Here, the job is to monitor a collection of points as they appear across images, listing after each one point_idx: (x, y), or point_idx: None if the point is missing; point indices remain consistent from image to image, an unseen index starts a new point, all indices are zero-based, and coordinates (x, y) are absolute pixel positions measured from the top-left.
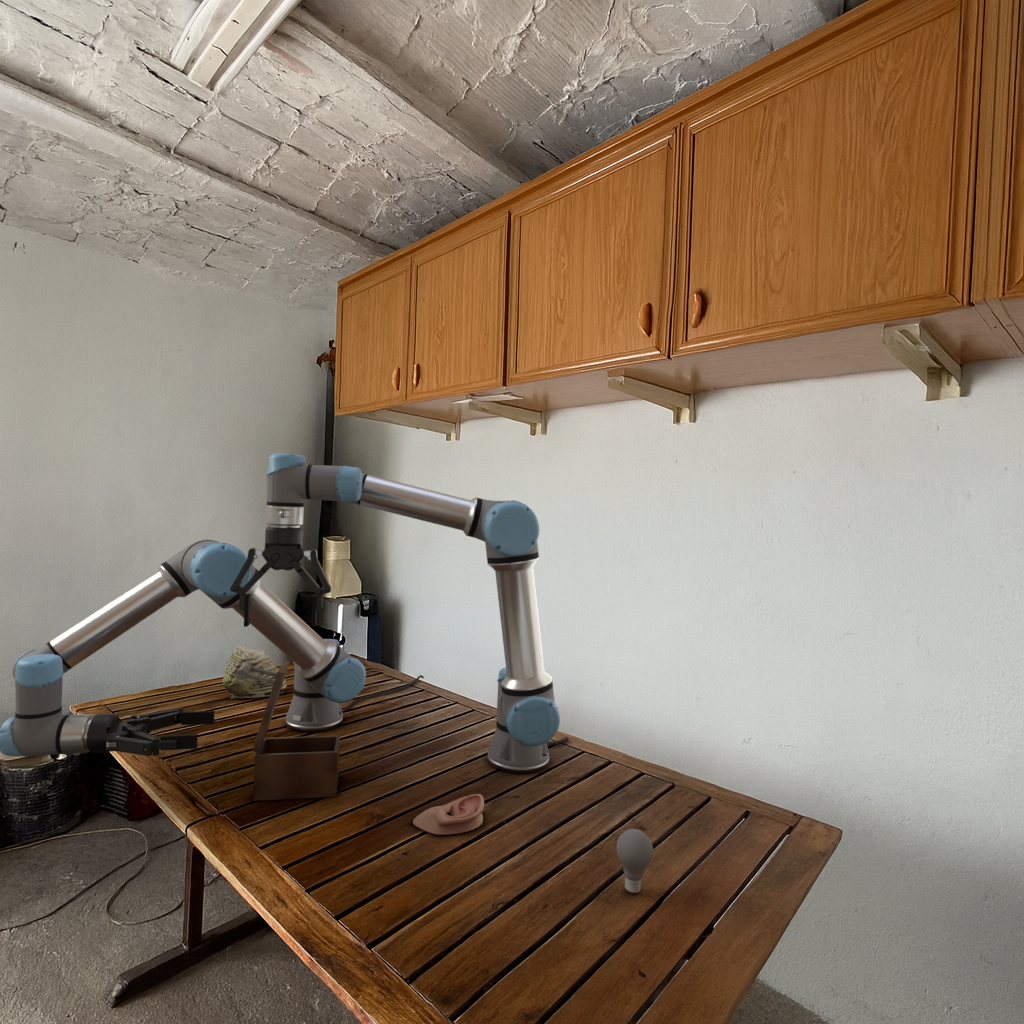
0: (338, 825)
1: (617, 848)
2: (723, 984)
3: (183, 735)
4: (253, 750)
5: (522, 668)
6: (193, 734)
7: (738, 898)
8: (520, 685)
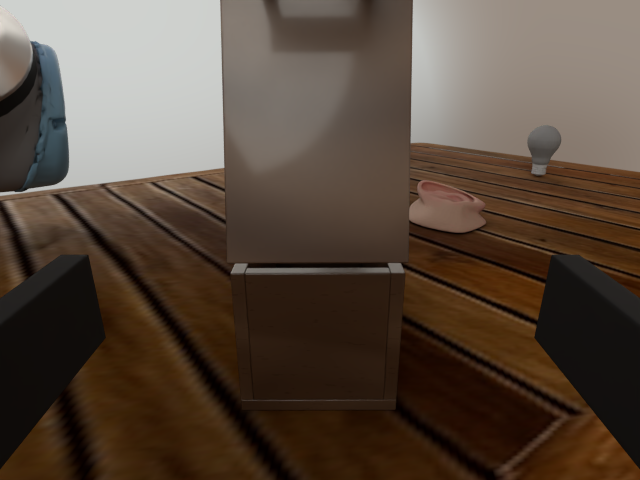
0: (486, 283)
1: (550, 142)
2: (626, 171)
3: (629, 298)
4: (408, 257)
5: None
6: (572, 266)
7: (522, 161)
8: None
